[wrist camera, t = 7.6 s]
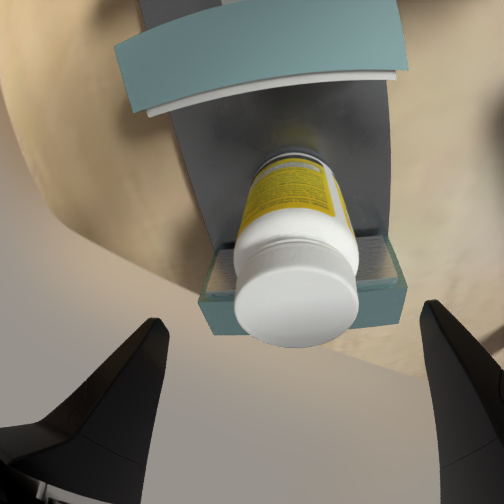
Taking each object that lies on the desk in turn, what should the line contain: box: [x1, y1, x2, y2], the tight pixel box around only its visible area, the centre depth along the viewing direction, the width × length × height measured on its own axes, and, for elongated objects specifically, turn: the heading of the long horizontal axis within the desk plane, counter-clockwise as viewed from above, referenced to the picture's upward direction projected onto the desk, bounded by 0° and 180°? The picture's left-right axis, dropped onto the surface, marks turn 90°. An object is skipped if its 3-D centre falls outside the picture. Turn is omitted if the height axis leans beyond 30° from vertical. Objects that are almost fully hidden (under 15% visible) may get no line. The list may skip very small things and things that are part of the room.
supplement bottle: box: [234, 153, 359, 348], centre depth 12 cm, size 5×5×8 cm
